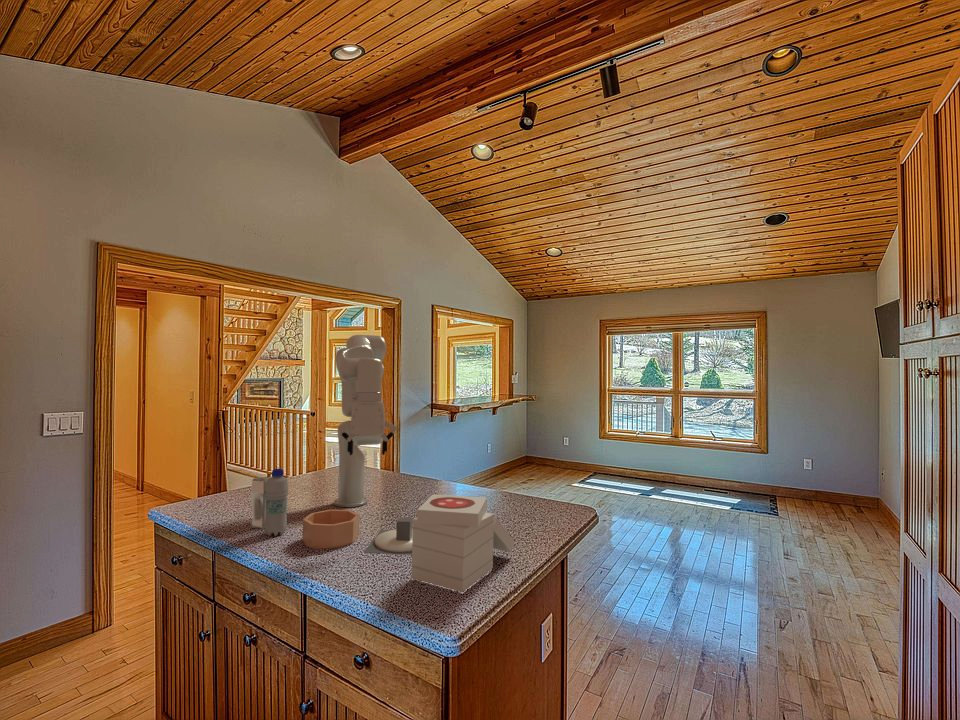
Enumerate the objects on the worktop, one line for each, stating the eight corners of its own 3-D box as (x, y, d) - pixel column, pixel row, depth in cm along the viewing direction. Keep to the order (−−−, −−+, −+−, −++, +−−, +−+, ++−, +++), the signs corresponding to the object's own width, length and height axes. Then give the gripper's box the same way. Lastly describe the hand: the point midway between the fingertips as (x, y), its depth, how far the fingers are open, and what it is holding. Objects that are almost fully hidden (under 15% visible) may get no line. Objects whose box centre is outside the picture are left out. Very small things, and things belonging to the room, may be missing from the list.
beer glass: (264, 529, 149) (265, 482, 149) (244, 527, 150) (246, 480, 151) (277, 523, 156) (279, 477, 156) (259, 521, 157) (260, 476, 158)
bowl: (316, 531, 149) (317, 509, 149) (363, 533, 148) (363, 510, 148) (295, 549, 134) (296, 524, 134) (347, 551, 133) (348, 526, 133)
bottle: (291, 531, 148) (294, 467, 148) (276, 538, 141) (278, 471, 142) (274, 529, 150) (276, 465, 150) (258, 535, 144) (260, 469, 144)
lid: (382, 531, 149) (383, 510, 149) (436, 533, 148) (437, 512, 148) (367, 551, 132) (368, 527, 132) (428, 553, 131) (428, 529, 131)
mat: (380, 531, 150) (380, 529, 150) (440, 534, 149) (440, 532, 149) (363, 554, 131) (363, 552, 131) (431, 557, 130) (431, 555, 130)
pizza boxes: (520, 556, 132) (521, 492, 132) (464, 600, 106) (466, 519, 106) (462, 543, 141) (463, 482, 142) (398, 580, 115) (400, 506, 116)
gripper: (338, 398, 140) (336, 456, 139) (397, 398, 143) (396, 455, 142) (341, 397, 147) (339, 452, 146) (397, 398, 150) (396, 452, 149)
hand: (367, 454), depth 144 cm, fingers open, 9 cm apart
